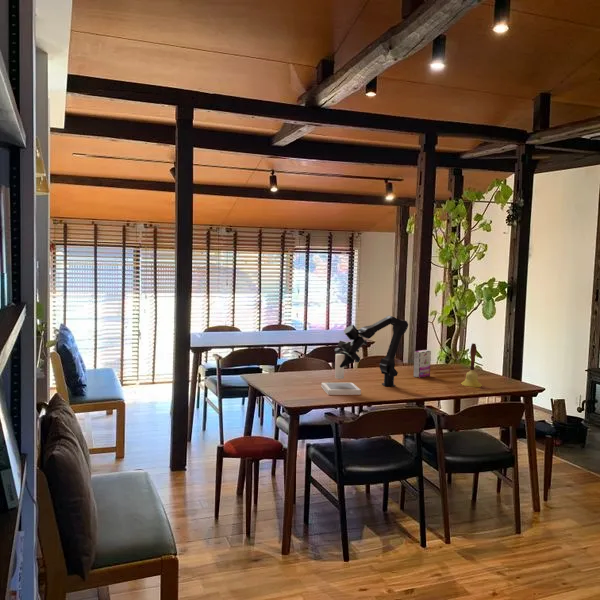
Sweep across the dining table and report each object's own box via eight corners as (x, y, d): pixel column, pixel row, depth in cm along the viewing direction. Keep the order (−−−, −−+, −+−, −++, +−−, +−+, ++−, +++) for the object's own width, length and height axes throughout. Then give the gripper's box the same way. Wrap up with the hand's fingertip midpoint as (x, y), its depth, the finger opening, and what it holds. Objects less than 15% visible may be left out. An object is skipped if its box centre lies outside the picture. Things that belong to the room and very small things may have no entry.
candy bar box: (423, 374, 362) (425, 349, 361) (430, 376, 358) (431, 350, 357) (412, 376, 355) (414, 350, 354) (419, 378, 351) (420, 352, 350)
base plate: (360, 394, 301) (360, 389, 301) (327, 394, 298) (328, 389, 298) (352, 386, 319) (352, 382, 319) (321, 387, 316) (321, 382, 316)
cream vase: (345, 378, 309) (346, 354, 308) (338, 379, 306) (339, 355, 305) (339, 376, 313) (340, 353, 312) (332, 377, 310) (333, 354, 309)
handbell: (479, 388, 328) (481, 345, 326) (458, 385, 334) (460, 343, 333) (484, 384, 338) (486, 343, 337) (463, 381, 345) (466, 341, 343)
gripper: (337, 333, 318) (320, 353, 313) (356, 338, 302) (338, 359, 297) (348, 346, 322) (331, 366, 318) (367, 351, 306) (350, 373, 302)
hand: (337, 366), depth 308 cm, fingers closed on cream vase, 5 cm apart
